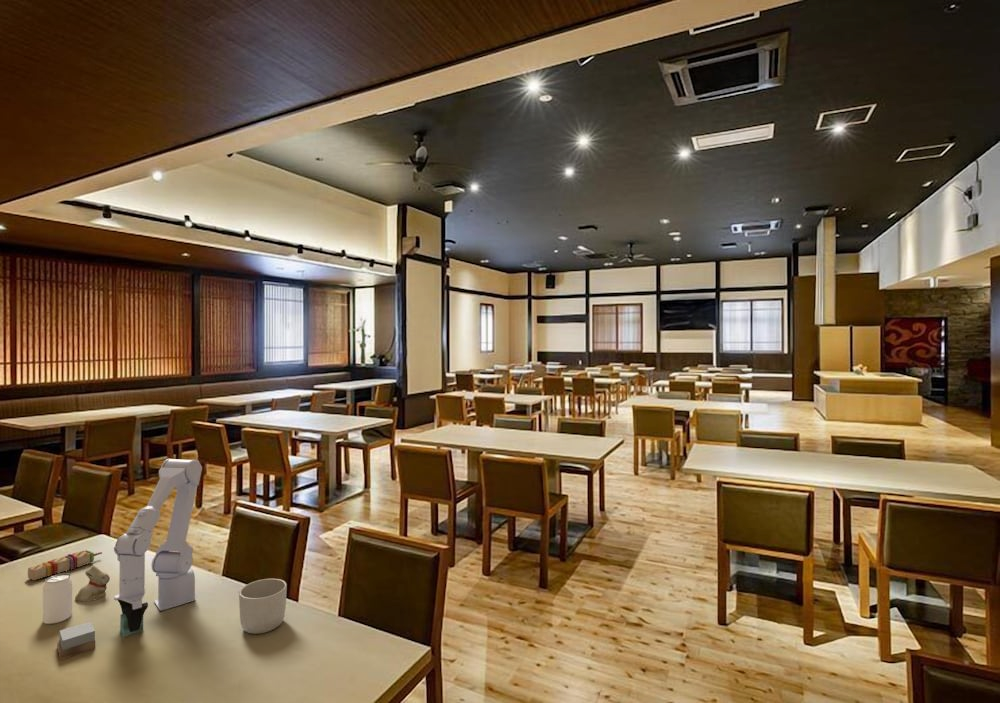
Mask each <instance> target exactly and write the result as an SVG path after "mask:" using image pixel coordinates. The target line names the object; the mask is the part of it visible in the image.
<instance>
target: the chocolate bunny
mask: <svg viewBox="0 0 1000 703" xmlns="http://www.w3.org/2000/svg"><path fill="white" fill-rule="evenodd" d="M84 573H85V576H87V578H88V579H89V581H88V583H87V584H85V585H84V586H82V587H81V588H80V590H78V592H77V594H76V595H75V598H74V600H75V601H78V602H88V601H89V600H90V601H94V599H95V600H98V599H102V598H104V597H106V595H107V592H106V591H107V584H108V583H109V581H110V580H111V579H110V575H109V574H108V573H107V572H103V571H101V570H100V568H98V567H97V566H95V565H92V566H91V567H90V568H89V569H87V570H86V571H85V572H84ZM103 596H104V597H103ZM101 597H102V598H101ZM90 601H89V602H90Z"/></svg>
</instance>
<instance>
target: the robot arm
mask: <svg viewBox="0 0 1000 703" xmlns="http://www.w3.org/2000/svg"><path fill="white" fill-rule="evenodd" d="M202 471H203V466H202V464H201V462H200V461H199V460H198V459H196V458H195V459H180V458H179V459H178V458H177V459H175V458H167V459H165V460H164V461H163V462H162V463H161V466H160V469H159V470H158V478H159V480H158V481H157V484H156V486H155V488H154V491H153V492H152V493H151V494H152V495H151V497H150V498H149V501H148V503H147V505H146V506H145V507H142V508H140V509H139V511H138V512H137V513H136V516H135V518H134V519H133V521H132V522H131V524H130V526H129V527H128V529H127V531H126V533H124V534H123V535H120V536H119V537H118V539H117V540H116V542H115V546H114V547H113V551H114V553H115V555H116V556H117V561H118V562H119V588H118V589H119V590H118V591H119V592H118V593H119V594H116V595H113V600H114V601H117V602H118V603H119V605H120V608H121V614H125V615H126V617H127V621H128V627H129V630H130V632H133V631H136V630H139V629H140V625H141V621H142V618H143V619H144V615H145V612H146V610H147V609H148V607H149V603H148V602H147V601H146V602H143V599H144V596H145V594H146V588H145V586H146V585H145V580H146V577H145V575H146V574H145V573H146V572H145V571H146V570H145V568H146V567H145V566H146V565H145V564H146V559H145V558H146V555H145V554H146V552H147V551H148V549H149V548H150V546H151V541H152V537H153V534H152V532H154V531H153V530H155V527H156V526H157V524H158V522H159V520H160V518H161V517H162V516H161V515H162V514H161V511H160V510H161V508H162V507H163V505H164V504H165V503H166V501H167V499H168V498H169V497H170V495H171V493H172V492H173V489H176V495H175V499H174V503H173V508H172V514H171V517H170V522H169V528H168V532H167V536H166V540H165V542H164V543H162V544H160V545H159V546H158V547H157V548H156V553H155V555H154V557H153V558H152V561H151V570H152V572H153V573H155V576H156V577H158V578H157V579H158V583H157V584H158V588H157V590H158V591H157V592H158V593H157V599H154V601H153V602H154V603H155V604H154V605H155V606H156V607H157V608H158V610H159V612H161V611H165V610H169V609H171V608H175V607H179V606H181V605H184V604H188V603H190V602H191V603H192V602H195V601H196V597H195V596H196V577H195V576H196V575H195V572H194V570H193V568H192V565H193V562H194V558H193V553H194V552H193V551H194V548H193V547H192V545H190V544H189V543H188V542H187V536H188V533H189V528H190V522H191V518H192V513H193V508H194V504H195V499H196V498H195V497H196V493H197V489H198V486H199V485H200V480H201V475H202Z"/></svg>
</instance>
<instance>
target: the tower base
mask: <svg viewBox="0 0 1000 703" xmlns="http://www.w3.org/2000/svg"><path fill="white" fill-rule="evenodd" d="M56 642H57V643H56V644H57V646H56V649H57V653H58V656H59V659H60V660H61V661H62V660H63V659H66V658H69V657H73V656H75V655H79V654H81V653H82V654H83V653H85V652H88V651H91V650H94V649H96V639H95V640H94V641H91V642H88V643H84V644H81V645H78V646H75V647H72V648H69V649H66V650H62V647H61V644H60V640H59V639H58V640H56Z"/></svg>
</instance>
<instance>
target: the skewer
mask: <svg viewBox="0 0 1000 703" xmlns="http://www.w3.org/2000/svg"><path fill="white" fill-rule="evenodd" d="M102 554H103V552H102V551H100V552H96V553H94V552H92V551H90V550H86V549H85V550H81V551H77V552H74V553H73V552H72V553H70V554H67V555H64V556H61V557H59V558H53V559H52V560H48V561H47V562H42V563H41V564H37V565H35V566H31V567H28V568H27V578H28V579H29V580H31V579H32V580H31V581H38V580H40V578H41V579H43V577H44V578H46V577H47V576H50V575H51V576H53V575H52V574H55V575H57V574H56V573H58V574H61V573H60V572H63V571H66V570H68V571H69V570H70V569H71V571H72V569H73V570H75V569H77V568H76V567H79V566H82V565H85V564H87V565H89V564H91V563H90V562H93V563H94V561H95V556H98V555H102ZM88 563H89V564H88ZM85 566H86V565H85ZM82 567H83V566H82ZM74 568H75V569H74ZM79 568H80V567H79ZM66 572H67V571H66ZM63 573H64V572H63ZM51 576H50V577H51ZM37 579H38V580H37Z"/></svg>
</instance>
